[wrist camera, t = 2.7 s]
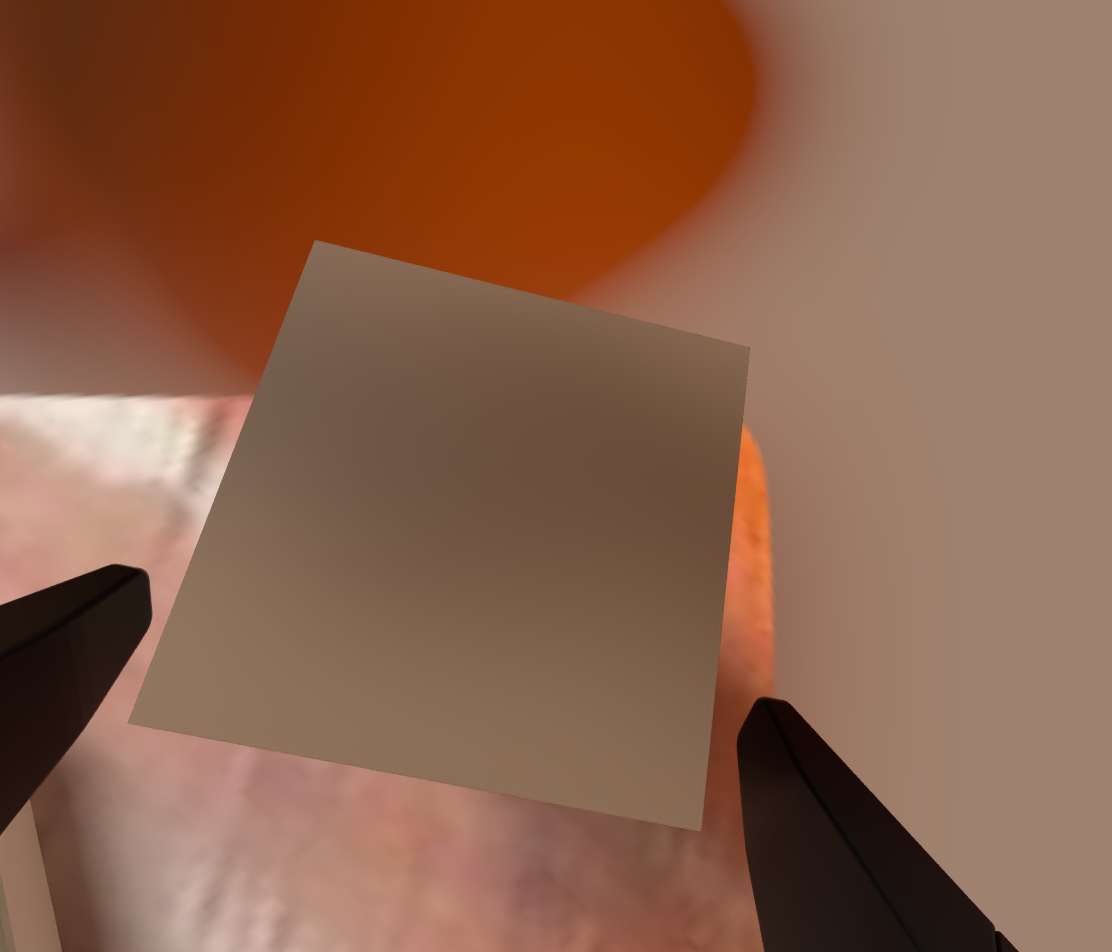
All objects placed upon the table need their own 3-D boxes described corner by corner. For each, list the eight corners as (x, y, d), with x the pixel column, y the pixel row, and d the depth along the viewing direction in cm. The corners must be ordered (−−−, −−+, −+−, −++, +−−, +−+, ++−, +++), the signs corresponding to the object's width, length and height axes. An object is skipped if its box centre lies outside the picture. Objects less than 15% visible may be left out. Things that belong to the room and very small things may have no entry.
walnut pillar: (542, 721, 17) (701, 832, 5) (364, 686, 17) (127, 723, 5) (573, 549, 19) (749, 348, 7) (412, 514, 19) (314, 240, 7)
